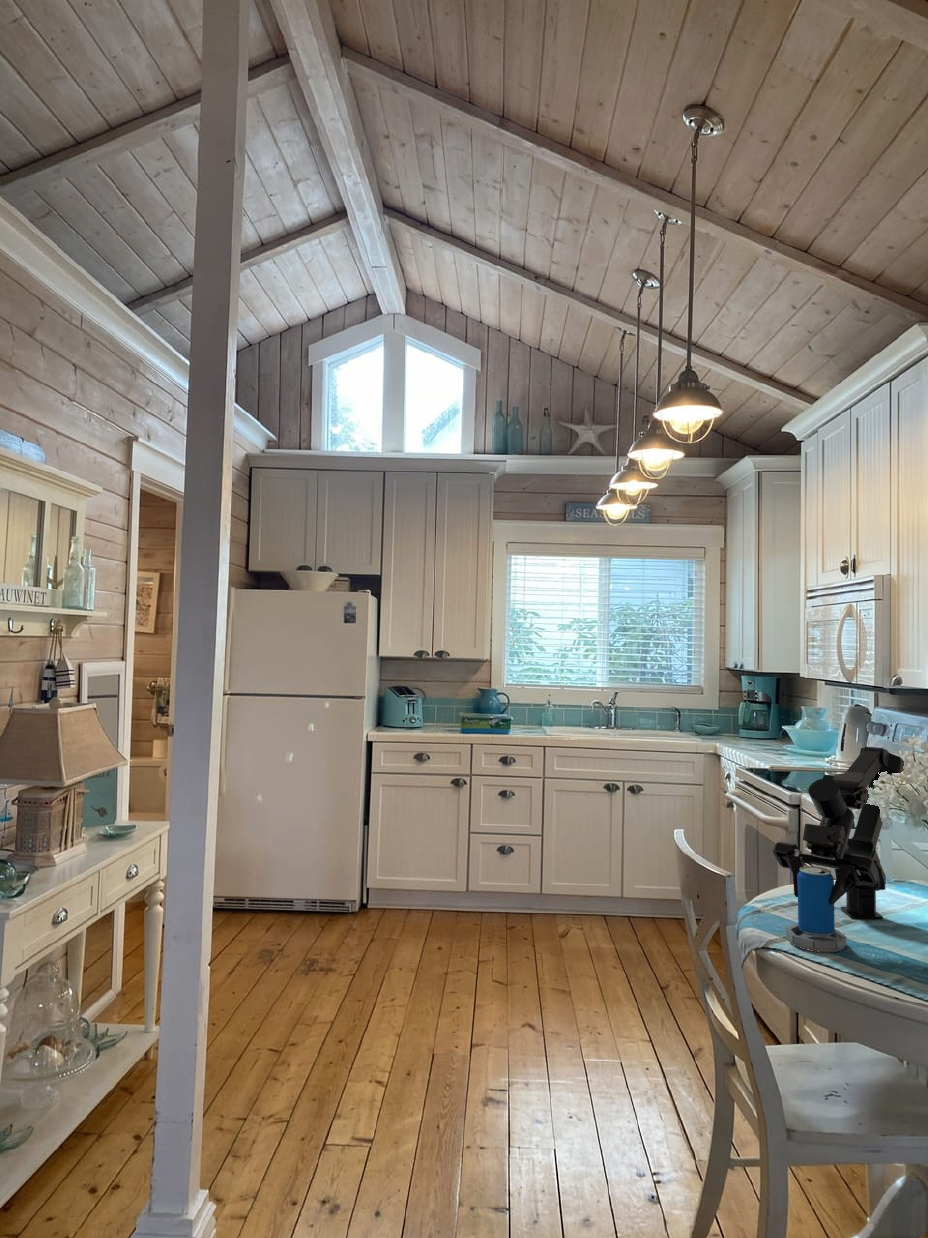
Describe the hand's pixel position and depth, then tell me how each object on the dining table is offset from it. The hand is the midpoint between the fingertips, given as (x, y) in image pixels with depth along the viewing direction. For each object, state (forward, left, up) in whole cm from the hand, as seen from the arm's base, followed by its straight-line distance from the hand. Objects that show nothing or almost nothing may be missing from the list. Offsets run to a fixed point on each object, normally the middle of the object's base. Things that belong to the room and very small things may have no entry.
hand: (812, 899), depth 160 cm
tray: (-1, +1, -9) cm, 9 cm away
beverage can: (-1, +1, -7) cm, 7 cm away
